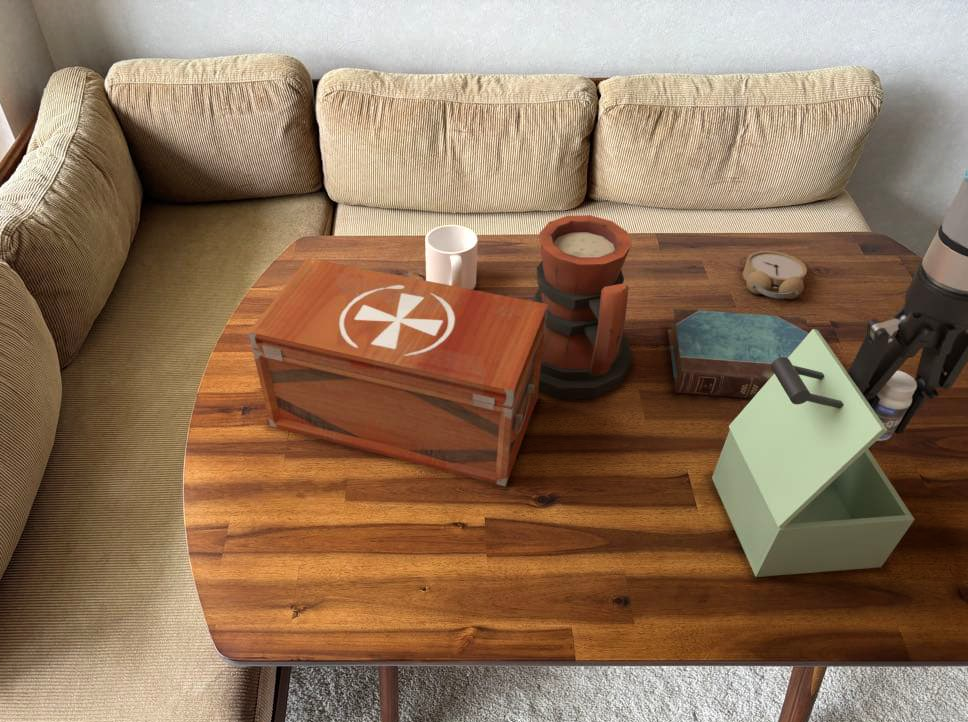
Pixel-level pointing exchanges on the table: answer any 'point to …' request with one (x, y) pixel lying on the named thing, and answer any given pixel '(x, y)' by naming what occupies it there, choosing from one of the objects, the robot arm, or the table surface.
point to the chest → (814, 519)
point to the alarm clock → (774, 274)
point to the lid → (804, 428)
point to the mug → (451, 256)
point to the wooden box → (402, 367)
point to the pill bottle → (894, 401)
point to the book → (729, 350)
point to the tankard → (583, 307)
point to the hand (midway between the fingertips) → (873, 427)
